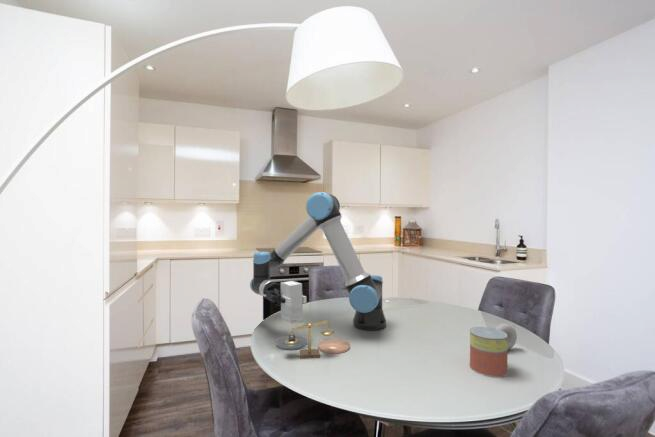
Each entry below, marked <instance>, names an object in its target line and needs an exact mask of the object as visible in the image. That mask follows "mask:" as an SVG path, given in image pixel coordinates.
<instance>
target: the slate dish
mask: <svg viewBox="0 0 655 437" xmlns="http://www.w3.org/2000/svg"><path fill="white" fill-rule="evenodd" d="M288 336H289V335H284V336H282V337H281V336H280V337H279V338H277V339H276V341H275V343H276V344H275V345H276V346H275V347H277V348H278V349H281V350H284V351H297V350H302V349H304V348H305V347H307V346H308V338H306V337H304V336H301V335H295V338H297V339H298V340H299V343H297V344H293V345H290V344H286V343H285V340H286V339H288Z"/></svg>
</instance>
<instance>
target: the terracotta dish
mask: <svg viewBox="0 0 655 437" xmlns="http://www.w3.org/2000/svg"><path fill="white" fill-rule="evenodd" d="M317 349H319V352H322V353H326V354H331V355H332V354H334V355H335V354H336V355H337V354H338V355H339V354H342V353H346V352H348V351H349V350H350V343H349V341H347V340H345V339H341V338H334V337H333V338H325V339H321V340H319V342H317Z"/></svg>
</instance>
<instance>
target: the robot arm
mask: <svg viewBox="0 0 655 437" xmlns="http://www.w3.org/2000/svg"><path fill="white" fill-rule="evenodd" d="M305 210H306V212H307V215H308V216H307V217H306V218H305V219H304V220H303V221H302V222H301V223H299V225H298V226H297V227H296V228H295V229H294V230H293V231H292V232H291V233H290V234H289V235H288V236H287V237H286V238H284V240H283V241H281V242H280V243H279V244H278V245H277V246H276V247H275V248H274V249H273V250H272V251H271V252H269V251H256V252H254V253H253V260H252V262H253V267H252V268H253V274H252V276H253V277H252V278H251V280H250V282H249V287H250V290H251V291H252V292H253V293H255V294H256V295H260V296H262V299H265V300H268V301H269V302H271V303H273V304H276V303H277V305H280V306H281V303H283V304H285V305H287V306H289V307H290V306H291V301H292V299H290V298H288V297H285V296H282V297H281V283H279V282H276V281H273V280H271V270H274V269H278V268H280V267H281V266H282V265H283V264H284V262H285V261H286V260H287V259H288V258H289V257H290V256H291V255H292V254H293V253H294V252H296V250H298V249H299V248H300V246H302V245H303V244H304V243H305V242H306V241H307V240H308V239H309V238H310V237H311V236H312V235H313V234H315V233H316V232H317V231H318V229H320V230H322V232H323V234H324V236H325V238H326V240H327V242H328V245H329V247H330V249H331V251H332V253H333V255H334V257H335V259H336V260H337V264H338V265H339V268H340V270H341V272H342V273H343V276H344V278H345V284H344V286H345V288H346V291H347V293H348V300H349V304H350V306H351V307H352V309H354V310H355V312H354V317H353V318H352V325H353V326H354V327H355V328H356V329H360V330H365V331H379V330H384V329H385V328H386V327H387V320H386V316H385V313H384V309H383V283H384V281H383V277H382V276H381V275H376V274H375V275H373V274H371V273H369V272H366V271H365V270H364V267H363V265H362V263H361V261H360V259H359V256H358V255H357V253H356V251H355V249H354V247H353V245H352V244H353V243H352V242H351V240H350V238H349V235H348V234H347V232H346V230H345V228H344V226H343V224H342V222H341V221H342V217H343V216H342V213H341V212H340V210H341V204H340V201H339V199H338V198H337V197H336V196H335V195H334V194H330V193H327V192H324V191H320V192H319V191H318V192H315V193H312V194H311V195H310V196H309V197H308V199H307V202H306V204H305ZM303 294H304V293H303V291H302V303H303V305H306V304H307V296H306V295H303Z"/></svg>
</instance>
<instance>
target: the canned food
mask: <svg viewBox="0 0 655 437" xmlns="http://www.w3.org/2000/svg"><path fill="white" fill-rule="evenodd" d="M508 351H509V350H508V334H507V333H505V332H503V331H501V330H498V329H495V328H492V327H487V326H475V327H472V328H470V329H469V368H470V369H471V370H472V371H474V372H475V373H476V374H480V375H483V376H485V377H490V378H503V377H505V376H507V375H508V373H509V370H508Z"/></svg>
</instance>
